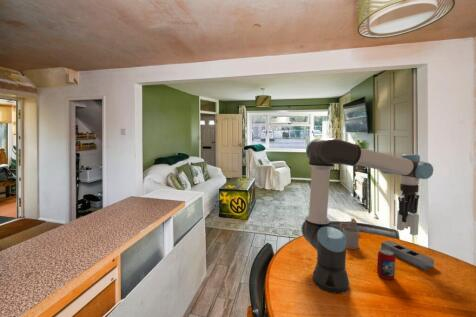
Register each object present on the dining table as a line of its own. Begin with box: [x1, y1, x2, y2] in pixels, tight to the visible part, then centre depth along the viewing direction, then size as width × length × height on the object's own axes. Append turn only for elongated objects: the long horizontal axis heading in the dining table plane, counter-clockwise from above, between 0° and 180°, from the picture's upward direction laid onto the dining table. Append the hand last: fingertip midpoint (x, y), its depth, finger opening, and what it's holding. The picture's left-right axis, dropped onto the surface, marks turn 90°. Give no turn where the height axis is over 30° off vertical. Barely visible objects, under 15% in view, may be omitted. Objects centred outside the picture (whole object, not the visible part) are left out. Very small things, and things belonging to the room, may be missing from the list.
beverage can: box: [376, 248, 396, 280], centre depth 101 cm, size 7×7×12 cm
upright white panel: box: [396, 209, 420, 236], centre depth 115 cm, size 9×3×10 cm, turn 20°
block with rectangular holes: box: [380, 240, 435, 271], centre depth 117 cm, size 7×22×4 cm, turn 20°
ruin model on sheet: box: [338, 218, 358, 233], centre depth 148 cm, size 11×3×10 cm, turn 100°
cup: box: [343, 227, 360, 250], centre depth 131 cm, size 8×8×10 cm
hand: (407, 227), depth 115 cm, fingers closed on upright white panel, 3 cm apart
